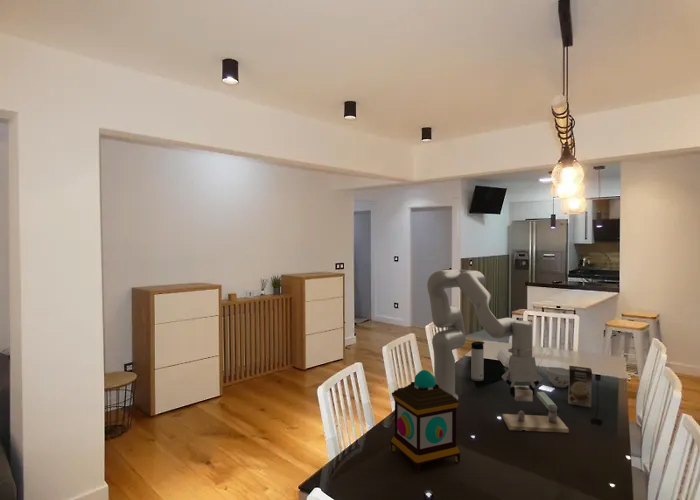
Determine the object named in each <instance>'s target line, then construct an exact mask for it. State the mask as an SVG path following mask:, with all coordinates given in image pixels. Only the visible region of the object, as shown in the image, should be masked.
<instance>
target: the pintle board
mask: <svg viewBox="0 0 700 500" xmlns="http://www.w3.org/2000/svg"><path fill="white" fill-rule="evenodd" d="M502 419H503V421H504V423H505V424H506V426H507V428H508V430H509V431H522V430H525V431H527V432H545V433H547V432H548V433H565V434H566V433H570V432H569V431H570V430H569V427H568V426H566V424H565V423H564V422H563V421H562V419H561V418H560V417H559V416H558V411H557V412H552V411H549V410H548V415H537V414H536V415H533V414H526V413H525V411H523V410H520V411H518V412H517V414H511V413H510V414H509V413H502Z"/></svg>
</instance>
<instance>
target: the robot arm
mask: <svg viewBox="0 0 700 500" xmlns="http://www.w3.org/2000/svg"><path fill="white" fill-rule="evenodd" d="M485 284H486V277H485V275H484V274H483V273H482V272H481V271H478V270H468V269H460V268H459V269H458V268H456V269H442V270H437V271H435V272H433V273H432V274H430V276H429V278H428V280H427V284H426V285H427V286H426V287H427V292H428V296H429V303H430V311H431V318H432V323H433V325H434V326H435V327H436V328H439V329H444V328H447V329H444V330H441V331H437V332H436V333H435V334H434V335H433V336H432V339H431V343H432V349H433V361H434V362H433V363H434V364H433V365H434V366H433V368H434V369H433V371H434V372H433V374H434V375H433V376H434V378H435V384H437V385H439V388H441V389H442V390H444V391H446V392H448V393H449V394H451V395H453V397H455V398H456V399H457V400H458V401H459V395H458V394H457V393H456V360H455V359H456V358H455V355H454V353H453V351H454V350H457V349H461V348H462V347H463V346H465V344H466V329H465V328H466V327H465V323H464V316H463V313H462V311H461V310H460V308H459V307H458V306H455V305H450V302H449V296H448V293H446V290H445V289H451V288H453V289H454V288H459V289H460V291H462V293H463V294H464V296H466V297H465V298H467V299H468V300H469V301H470V303H471V304H472V305H473V307H474V309H475V315H476V319H477V321H478V323H479V324H480V325H481V327H482V328H483V330H484V331H485V332H486V333H487V334H488V335H489V336H490V337H492V338H494V339H498V340H499V339H503V338H506V337H511V348H508V349H507V351H508V352H509V353H510V354H511V355H510V359H509V368H508V370H507V371H506V372H504V373H503V374H502V375H501V378H502V380H503V381H505V382H506V384H508V385H509V395H511V397H512V398H513V397H515V387H514V386H515V385H516V384H515V383H517V382H520V383H522V382H523V383H529V385H528V386H529V388H530V389H531V390H532V391H533V396H535V388H536V387H537V386H538V385H539V384H540V382H542V381H543V380H544V378H543V376H541V375H540V374H539V373H538V371H537V363H536V358H535V355H533V324H532V322H530V321H527V320H518V319H516V318H512V317H503V318H497V317H496V316H495V315H494V314H493V313H492V311H491V310H490V306H489V305H490V304H489V303H490V302H491V299H492V295H491V293H490V292H489V291H488V290H487V289H486V287H484V286H485ZM508 378H509V379H510V380H509V379H508Z"/></svg>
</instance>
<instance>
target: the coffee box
mask: <svg viewBox="0 0 700 500" xmlns="http://www.w3.org/2000/svg"><path fill="white" fill-rule="evenodd" d="M568 369H569V385H568V393H567V401H568V402H567V403H568V405H573V406H574V405H575V406H578V407H579V406H580V407H584V408H585V407H586V408H592V387H593V386H592V379H593V377H592V376H593V371H592V368H591V367H583V366H576V365H569V368H568Z"/></svg>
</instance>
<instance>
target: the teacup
mask: <svg viewBox="0 0 700 500" xmlns="http://www.w3.org/2000/svg"><path fill="white" fill-rule="evenodd" d="M546 374H547V378H548V381H550V383H551V384H552V386H553V387H556V388H562V389H565V388H567V387H568V386H569V368H564V367H560V366H559V367H557V366H556V367H553V366H551V367H547V368H546Z"/></svg>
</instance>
